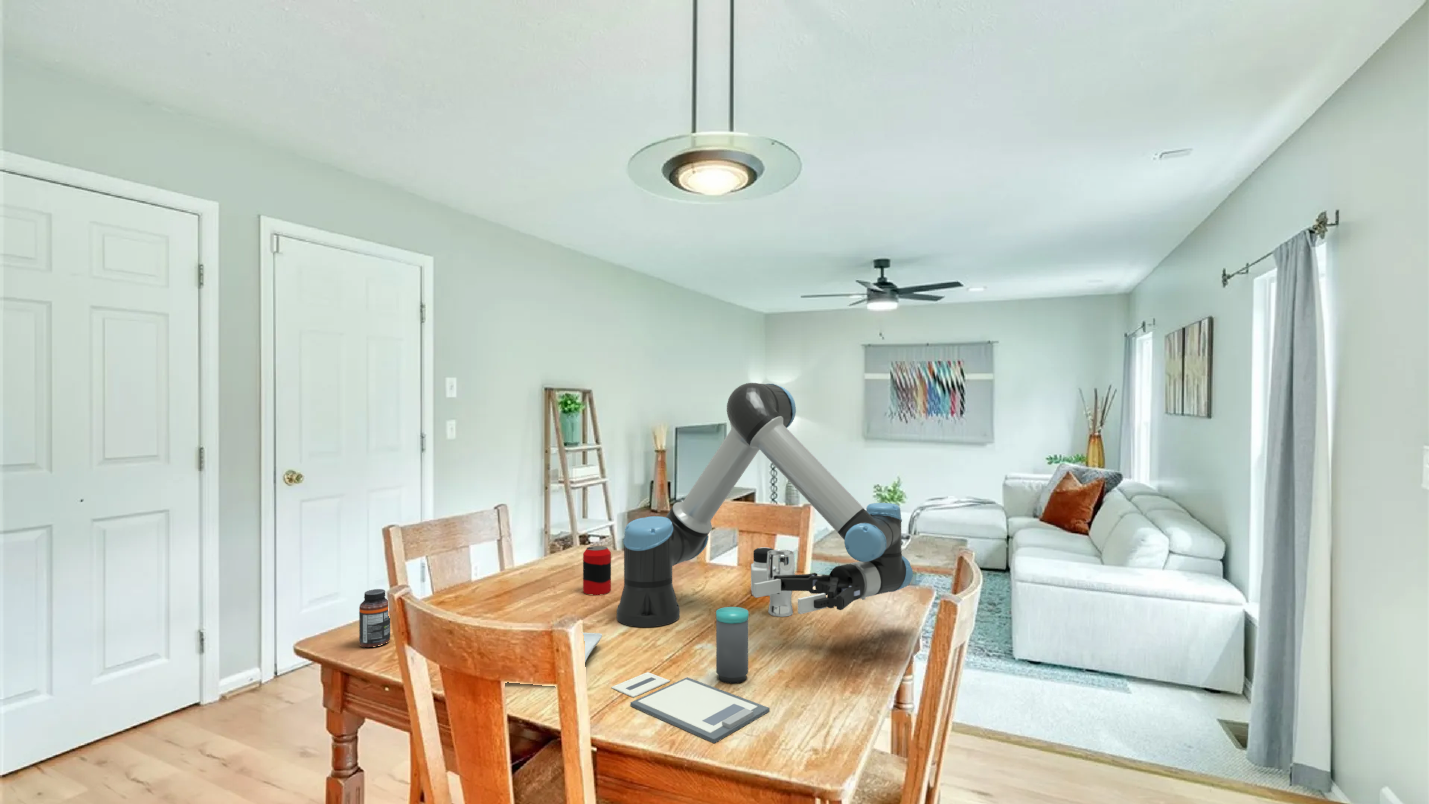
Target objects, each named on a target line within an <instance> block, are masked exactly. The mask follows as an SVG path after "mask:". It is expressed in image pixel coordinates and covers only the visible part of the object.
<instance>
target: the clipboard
mask: <svg viewBox="0 0 1429 804" xmlns="http://www.w3.org/2000/svg"><path fill="white" fill-rule="evenodd" d="M629 703H630V707H632V708H635V709H637V710H638V711H641V712H643V713H645V714H648V715H650V716H651V717H654V718H657V719H659V720H661V721H663V722H665V723H668V724H669V725H672V726H674V727H677V728H679V729H681V730H683V731H686V732H687V733H690V734H692V735H694V736H697V737H699V738H701V739H704V740H705V741H708V742H710V743H713V744H715V743H718V742H719V741H721V740H723V739H724V738H726V737H728V736H729V735H731V734H733V733H735V732H737V731H738V730H740V729H742V728H744V727H745V726H747V725H749V724H750V723H752V722H754V721H755V720H758V719H759V718H761V717H762V716H764V715H766V714H768V713H770V707H768V706H766V705H763V704H761V703H758V702H754V701H752V700H751V699H747V698H744V697H741V696H739V695H736V694H734V693H730V692H728V691H725V690H722V689H720V688H718V687H714V686H712V685H709V684H706V683H703V682H701V681H698V680H696V679H693V678H690V677H688V676H686V677H684V678H683V679H680V680H678V681H676V682H673V683H670V684H669V685H666V686H664V687H662V688H659V689H658V690H655V691H653V692H651V693H649V694H646V695H643V696H642V697H640V698H637V699H635V700H632V701H630V702H629Z"/></svg>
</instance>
